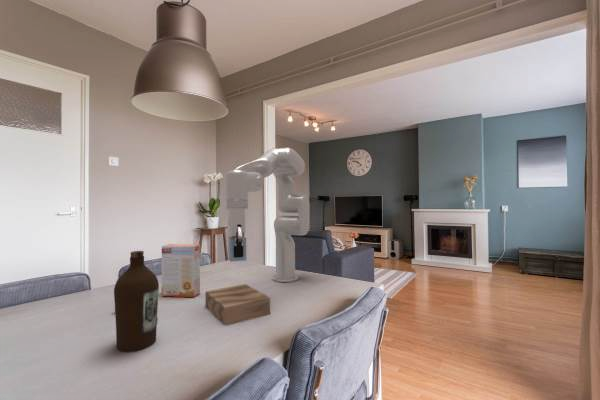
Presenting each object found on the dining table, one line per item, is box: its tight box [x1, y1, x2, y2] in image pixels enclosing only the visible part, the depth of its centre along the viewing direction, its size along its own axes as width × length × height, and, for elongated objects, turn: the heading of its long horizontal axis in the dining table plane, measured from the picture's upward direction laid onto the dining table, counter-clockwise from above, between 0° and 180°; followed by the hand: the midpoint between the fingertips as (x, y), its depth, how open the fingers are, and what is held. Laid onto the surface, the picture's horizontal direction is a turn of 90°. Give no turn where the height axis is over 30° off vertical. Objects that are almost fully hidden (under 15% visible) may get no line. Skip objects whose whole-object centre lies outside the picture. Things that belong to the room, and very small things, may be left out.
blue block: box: [227, 236, 247, 262], centre depth 103 cm, size 6×6×8 cm
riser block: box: [204, 283, 271, 326], centre depth 103 cm, size 20×16×6 cm
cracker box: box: [161, 243, 201, 298], centre depth 120 cm, size 14×6×21 cm, turn 84°
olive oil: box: [113, 250, 160, 353], centre depth 79 cm, size 11×11×25 cm
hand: (237, 255), depth 103 cm, fingers closed on blue block, 5 cm apart
